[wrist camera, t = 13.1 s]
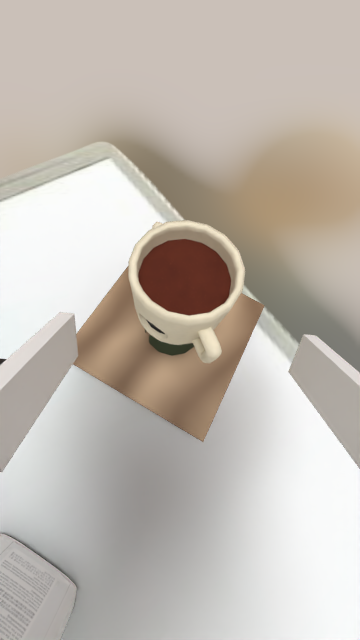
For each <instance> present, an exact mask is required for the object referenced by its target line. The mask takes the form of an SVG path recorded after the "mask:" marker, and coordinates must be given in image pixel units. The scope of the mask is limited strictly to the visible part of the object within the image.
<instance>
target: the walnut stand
mask: <svg viewBox="0 0 360 640" xmlns="http://www.w3.org/2000/svg"><path fill="white" fill-rule="evenodd" d="M263 308H264V305H263V304H261V303H259V302H257V301H255V300H253V299H251V298H249V297H248V296H246V295H244V294H242V293H241V294H240V296H239V297H238V299H237V300H236V302H235V303H234V305H233V307H232V308H231V310H230V311H229V312H228V314H227V315H226V316H225V317H224V318H223V319H222V321H221V322H220V323H219V324H218V325H217V327H216V328H215V329H214V332H215V335H216V337H217V339H218V341H219V343H220V346H221V350H222V352H221V355H220V356H219V357H218V358H217V359H216V360H214V361H213V362H211V363H204V362H202V360H201V359H200V358H199V356H198V354H197V351H196V349H195V347H193V348H192V349H190V350H189V351H187V352H186V353H184V354H179V355H173V356H171V355H167V354H164V353H161V352H158V351H157V350H156V349H155V348H154V347H153V346H152V345H150V343H149V333H148V332H147V331H146V333H145V328H144V327H143V326H142V324H141V322H140V320H139V318H138V315H137V312H136V309H135V305H134V299H133V294H132V290H131V285H130V281H129V266H128V267H127V268H126V270H125V271H124V272H123V274H122V275H121V276H120V277H119V279H118V280H117V281H116V283H115V284H114V285H113V287H112V288H111V289H110V291H109V292H108V293H107V295H106V296H105V297H104V298H103V300H102V301H101V302H100V304H99V305H98V306H97V308H96V309H95V310H94V312H93V313H92V314H91V316H90V317H89V318H88V319H87V321H86V322H85V323H84V325H83V326H82V327H81V329H80V330H79V331H78V333H77V334H76V338H77V349H78V357H77V358H76V360H75V361H74V363H73V364H74V365H75V366H77V367H79V368H80V369H82V370H84V371H85V372H87V373H89V374H90V375H92V376H94V377H95V378H97V379H99V380H100V381H102V382H104V383H105V384H107V385H109V386H110V387H112V388H114V389H115V390H117V391H119V392H120V393H122V394H124V395H125V396H127V397H129V398H130V399H132V400H134V401H135V402H137V403H139V404H140V405H142V406H144V407H145V408H147V409H149V410H150V411H152V412H154V413H155V414H157V415H159V416H160V417H162V418H164V419H165V420H167V421H169V422H170V423H172V424H174V425H175V426H177V427H179V428H180V429H182V430H184V431H185V432H187V433H189V434H190V435H192V436H194V437H196V438H197V439H199V440H201V441H202V442H203V441H204V439H205V437H206V434H207V432H208V430H209V428H210V425H211V423H212V421H213V419H214V417H215V414H216V412H217V410H218V408H219V405H220V403H221V401H222V399H223V397H224V394H225V392H226V390H227V388H228V385H229V383H230V381H231V379H232V377H233V374H234V372H235V370H236V368H237V365H238V363H239V361H240V359H241V357H242V354H243V352H244V350H245V348H246V346H247V343H248V341H249V339H250V337H251V334H252V332H253V330H254V328H255V326H256V323H257V321H258V319H259V317H260V314H261V312H262V310H263Z"/></svg>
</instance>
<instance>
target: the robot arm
mask: <svg viewBox="0 0 360 640" xmlns="http://www.w3.org/2000/svg"><path fill="white" fill-rule="evenodd" d="M77 357H78V349H77V338H76V327H75V316H74V314H73V313H62V312H59V313H58V314H57V315H56V316H55V317H54V318H53V319H52V320H50V321H49V322H48V323H47V324H46V325H45V326H44V327H43V328H41V329H40V330H39V331H38V332H37V333H36V334H35V335H34V336H32V337H31V338H30V339H29V340H28V341H27V342H26V343H25V344H23V345H22V346H21V347H20V348H19V349H18V350H17V351H16V352H14V353H13V354H12V355H11V356H10V357H9V358H8V359H0V472H2V471H3V470H4V468H5V467H6V465H7V464H8V462H9V461H10V459H11V458H12V456H13V455H14V453H15V451H16V450H17V448H18V447H19V445H20V444H21V442H22V441H23V439H24V438H25V436H26V435H27V433H28V432H29V430H30V429H31V427H32V425H33V424H34V422H35V421H36V419H37V418H38V416H39V415H40V413H41V412H42V410H43V409H44V407H45V406H46V404H47V403H48V401H49V400H50V398H51V396H52V395H53V393H54V392H55V390H56V389H57V387H58V386H59V384H60V383H61V381H62V380H63V378H64V377H65V375H66V374H67V372H68V371H69V369H70V367H71V366H72V364H73V363H74V361H75V360H76V358H77ZM288 372H289V373H290V375H291V376H292V377H293V379H294V380H295V382H296V383H297V384H298V386H299V387H300V388H301V390H302V391H303V392H304V394H305V395H306V396H307V398H308V399H309V401H310V402H311V403H312V405H313V406H314V407H315V409H316V410H317V411H318V413H319V414H320V415H321V417H322V418H323V420H324V421H325V422H326V424H327V425H328V426H329V428H330V429H331V430H332V432H333V433H334V435H335V436H336V437H337V439H338V440H339V441H340V443H341V444H342V445H343V447H344V448H345V449H346V451H347V452H348V454H349V455H350V456H351V458H352V459H353V460H354V462H355V463H356V464H357V466H358V467H359V468H360V373H359V372H358V371H357V370H356V369H354V368H353V367H352V366H351V365H350V364H348V363H347V362H346V361H345V360H344V359H343V358H341V357H340V356H339V355H338V354H337V353H335V352H334V351H333V350H332V349H331V348H330V347H328V346H327V345H326V344H325V343H324V342H323V341H321V340H320V339H319V338H318V337H317V336H315V335H303V337H302V339H301V342H300V344H299V347H298V349H297V352H296V354H295V357H294V359H293V362H292V364H291V366H290V369H289V371H288Z"/></svg>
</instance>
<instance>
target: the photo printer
mask: <svg viewBox="0 0 360 640" xmlns="http://www.w3.org/2000/svg"><path fill="white" fill-rule="evenodd" d="M76 591H77V588H76V585H75V584H74V583H73V582H72V581H71V580H70V579H69V578H68V577H67V576H66V575H65V574H63V573H62V572H61V571H59V570H58V569H57V568H55V567H54V566H52V565H51V564H50V563H49V562H47V561H46V560H44V559H43V558H42V557H40V556H39V555H37V554H36V553H34V552H33V551H31V550H30V549H29V548H27V547H26V546H25V545H23V544H21V543H20V542H18V541H17V540H15V539H13V538H11V537H10V536H7V535H5V534H0V640H61V637H62V635H63V632H64V630H65V627H66V625H67V622H68V620H69V618H70V615H71V613H72V610H73V607H74V604H75V598H76Z"/></svg>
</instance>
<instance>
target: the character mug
mask: <svg viewBox="0 0 360 640" xmlns="http://www.w3.org/2000/svg"><path fill="white" fill-rule="evenodd" d="M244 276H245V268H244V265H243V261H242V258H241V255H240V252H239V251H238V249H237V248H236V247H235V246H234V244H233V243H232V242H231V241H230V240H229V239H228V237H227V236H226V235H224V234H222V233H221V232H219V231H217V230H216V229H214V228H212V227H211V226H209V225H206V224H202V223H198V222H193V221H189V220H183V221H172V222H166V223H164V224H162V223H160V222H156V223H155V224H154V225H153V227H152V229H151V230H149V231H148V232H147V233H146V234H145V235H144V236H143V237H142V238H141V239H140V240H139V241H138V242H137V243H136V244H135V246H134V249H133V252H132V254H131V257H130V259H129V281H130V285H131V290H132V294H133V299H134V305H135V309H136V312H137V315H138V318H139V320H140V322H141V324H142V326H143V327H144V328H145V333H146V331H147V332H148V333H149V343H150V345H152V346H153V347H154V348H155V349H156V350H157V351H158V352H161V353H164V354H167V355H171V356H173V355H179V354H184V353H186V352H187V351H189V350H190V349H192V348H193V347H195V349H196V351H197V354H198V356H199V358H200V359H201V360H202V362H204V363H211V362H213V361H214V360H216V359H217V358H218V357H219V356H220V355H221V352H222V350H221V346H220V343H219V341H218V339H217V337H216V335H215V332H214V329H215V328H216V327H217V325H218V324H219V323H220V322H221V321H222V319H223V318H224V317H225V316H226V315H227V314H228V312H229V311H230V310H231V308H232V307H233V305H234V303H235V302H236V300H237V299H238V297H239V296H240V294H241V292H242V290H243V285H244Z"/></svg>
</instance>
